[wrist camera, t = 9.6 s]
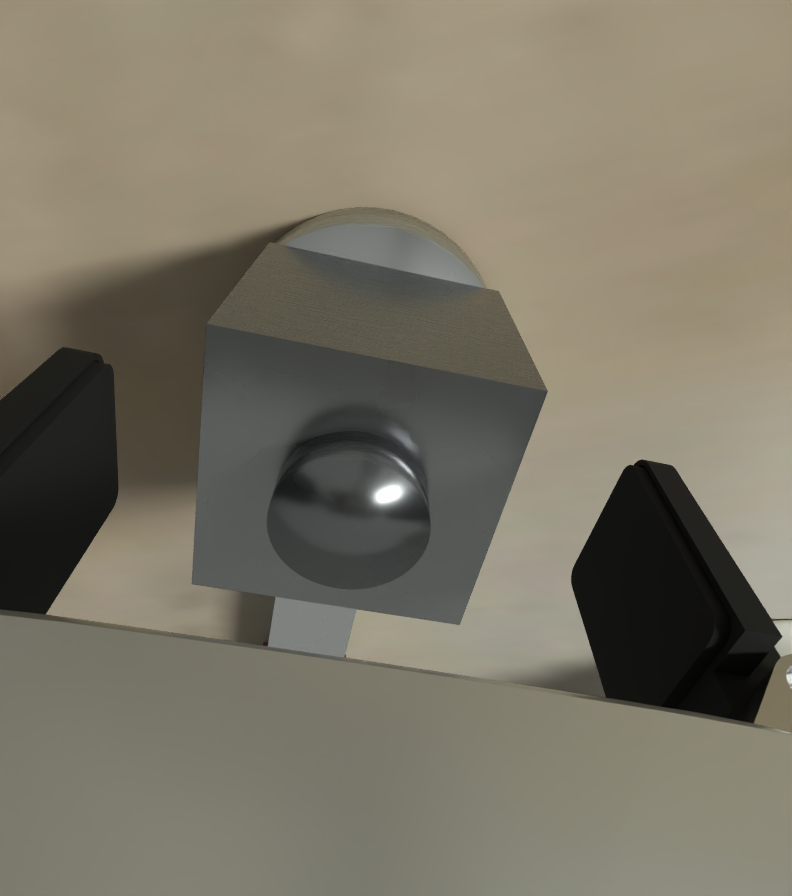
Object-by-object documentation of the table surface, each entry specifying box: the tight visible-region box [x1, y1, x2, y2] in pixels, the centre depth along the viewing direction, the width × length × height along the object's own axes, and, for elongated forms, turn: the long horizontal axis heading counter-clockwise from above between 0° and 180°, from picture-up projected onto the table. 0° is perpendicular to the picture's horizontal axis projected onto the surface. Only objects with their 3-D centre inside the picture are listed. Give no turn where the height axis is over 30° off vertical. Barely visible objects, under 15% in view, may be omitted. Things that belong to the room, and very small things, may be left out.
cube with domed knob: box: [192, 242, 548, 625], centre depth 14 cm, size 6×6×7 cm
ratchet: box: [263, 207, 486, 658], centre depth 20 cm, size 24×8×6 cm, turn 168°
